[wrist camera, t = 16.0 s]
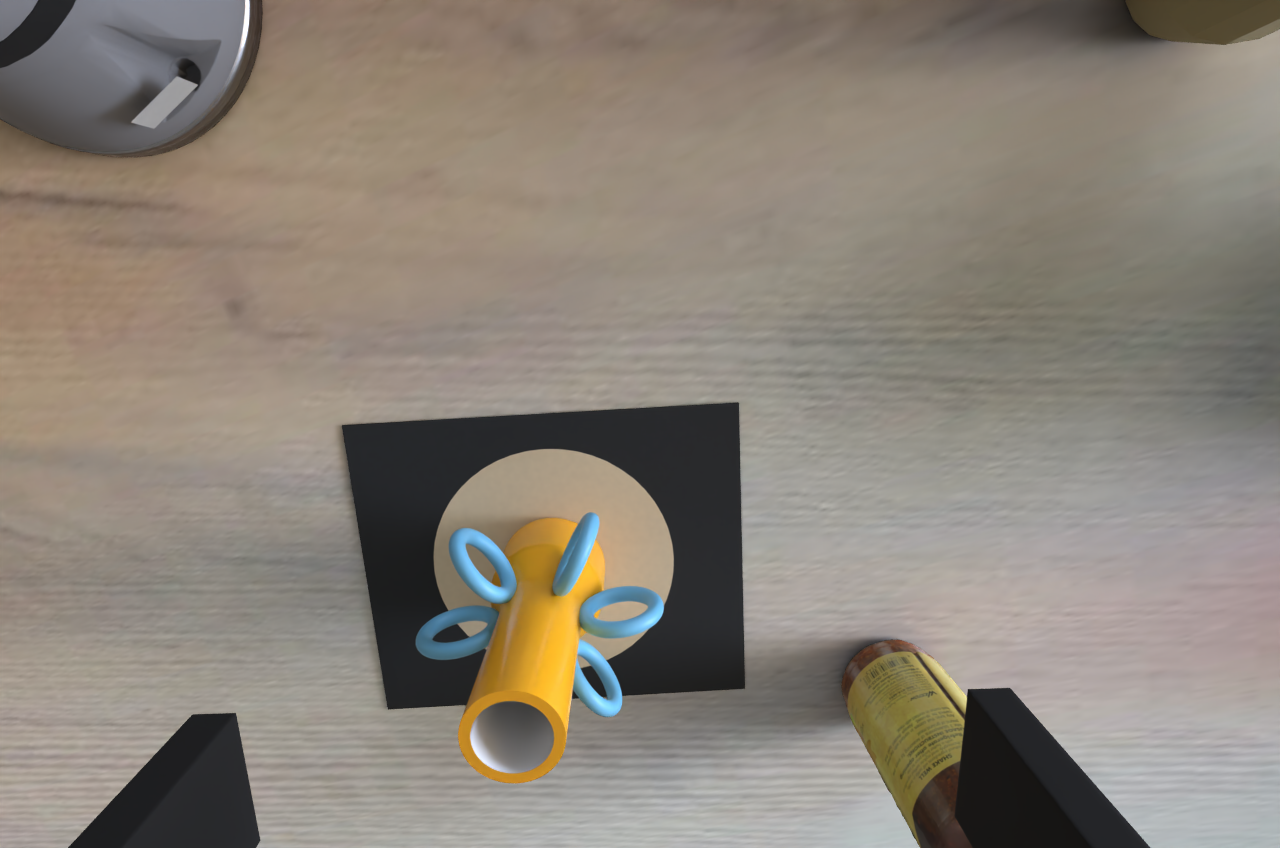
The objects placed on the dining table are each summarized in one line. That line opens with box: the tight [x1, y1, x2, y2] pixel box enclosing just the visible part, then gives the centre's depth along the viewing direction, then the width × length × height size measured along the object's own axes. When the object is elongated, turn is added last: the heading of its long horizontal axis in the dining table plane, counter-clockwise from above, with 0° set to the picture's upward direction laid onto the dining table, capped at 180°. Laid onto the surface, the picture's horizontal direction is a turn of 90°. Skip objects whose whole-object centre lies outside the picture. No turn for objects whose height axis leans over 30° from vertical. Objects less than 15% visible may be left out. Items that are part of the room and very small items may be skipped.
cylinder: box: [416, 512, 664, 783], centre depth 33 cm, size 12×10×15 cm
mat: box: [342, 403, 745, 709], centre depth 40 cm, size 22×18×1 cm
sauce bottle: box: [842, 640, 973, 848], centre depth 33 cm, size 6×6×20 cm
